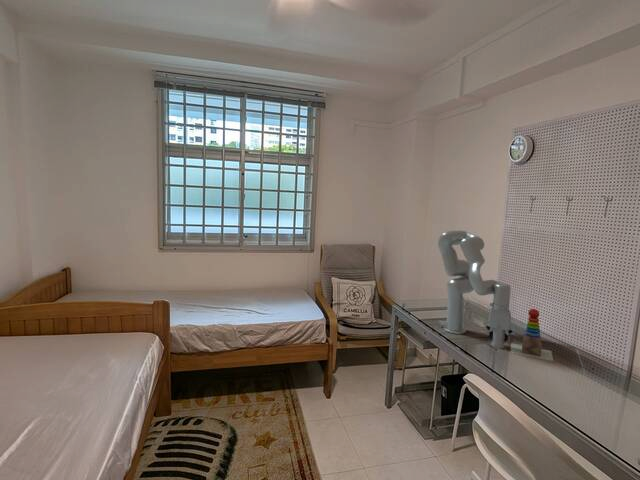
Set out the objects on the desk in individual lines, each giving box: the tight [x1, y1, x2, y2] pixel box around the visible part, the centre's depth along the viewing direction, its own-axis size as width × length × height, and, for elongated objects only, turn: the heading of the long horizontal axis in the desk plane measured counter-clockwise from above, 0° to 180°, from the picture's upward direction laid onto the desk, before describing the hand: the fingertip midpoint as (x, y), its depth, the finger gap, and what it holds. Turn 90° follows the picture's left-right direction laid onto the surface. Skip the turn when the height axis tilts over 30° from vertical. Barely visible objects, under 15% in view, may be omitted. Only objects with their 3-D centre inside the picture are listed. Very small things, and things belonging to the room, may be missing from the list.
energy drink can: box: [491, 325, 506, 349], centre depth 179 cm, size 6×6×15 cm
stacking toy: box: [524, 308, 542, 340], centre depth 187 cm, size 8×8×19 cm
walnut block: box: [521, 335, 543, 357], centre depth 173 cm, size 8×8×6 cm
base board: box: [510, 342, 554, 362], centre depth 174 cm, size 18×13×1 cm
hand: (498, 339), depth 180 cm, fingers closed on energy drink can, 6 cm apart
